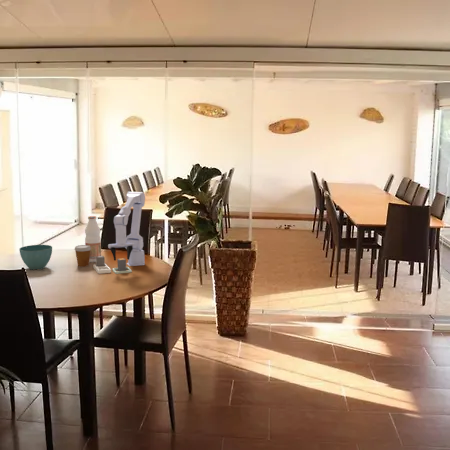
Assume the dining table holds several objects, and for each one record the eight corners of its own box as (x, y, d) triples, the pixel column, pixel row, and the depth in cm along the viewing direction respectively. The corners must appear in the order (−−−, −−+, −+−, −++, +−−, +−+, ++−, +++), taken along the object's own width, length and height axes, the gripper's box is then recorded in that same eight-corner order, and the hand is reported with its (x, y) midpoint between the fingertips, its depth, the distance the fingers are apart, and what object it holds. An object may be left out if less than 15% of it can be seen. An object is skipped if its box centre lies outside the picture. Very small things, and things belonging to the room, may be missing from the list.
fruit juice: (90, 263, 343) (88, 218, 339) (83, 260, 350) (81, 216, 346) (104, 261, 349) (102, 216, 345) (97, 258, 356) (95, 214, 352)
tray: (128, 269, 329) (127, 266, 328) (131, 273, 320) (131, 270, 320) (112, 270, 325) (112, 268, 325) (115, 274, 317) (115, 271, 317)
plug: (124, 270, 325) (124, 258, 324) (126, 271, 322) (125, 259, 321) (117, 270, 324) (117, 258, 323) (119, 272, 320) (118, 260, 319)
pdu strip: (105, 267, 334) (105, 263, 334) (110, 273, 319) (110, 269, 319) (93, 268, 331) (93, 264, 331) (98, 274, 317) (98, 270, 316)
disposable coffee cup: (87, 268, 331) (86, 248, 329) (72, 267, 333) (71, 247, 331) (94, 264, 340) (93, 245, 339) (79, 264, 342) (78, 244, 340)
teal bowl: (43, 272, 321) (42, 251, 319) (14, 271, 324) (12, 250, 322) (58, 265, 338) (57, 245, 336) (31, 264, 342) (29, 244, 340)
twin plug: (103, 267, 331) (103, 255, 330) (104, 268, 328) (104, 256, 327) (96, 268, 330) (96, 256, 329) (97, 269, 326) (97, 257, 325)
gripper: (109, 238, 313) (110, 262, 315) (135, 236, 319) (135, 260, 321) (107, 236, 319) (107, 259, 322) (132, 234, 325) (132, 257, 327)
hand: (121, 259), depth 322 cm, fingers open, 7 cm apart
